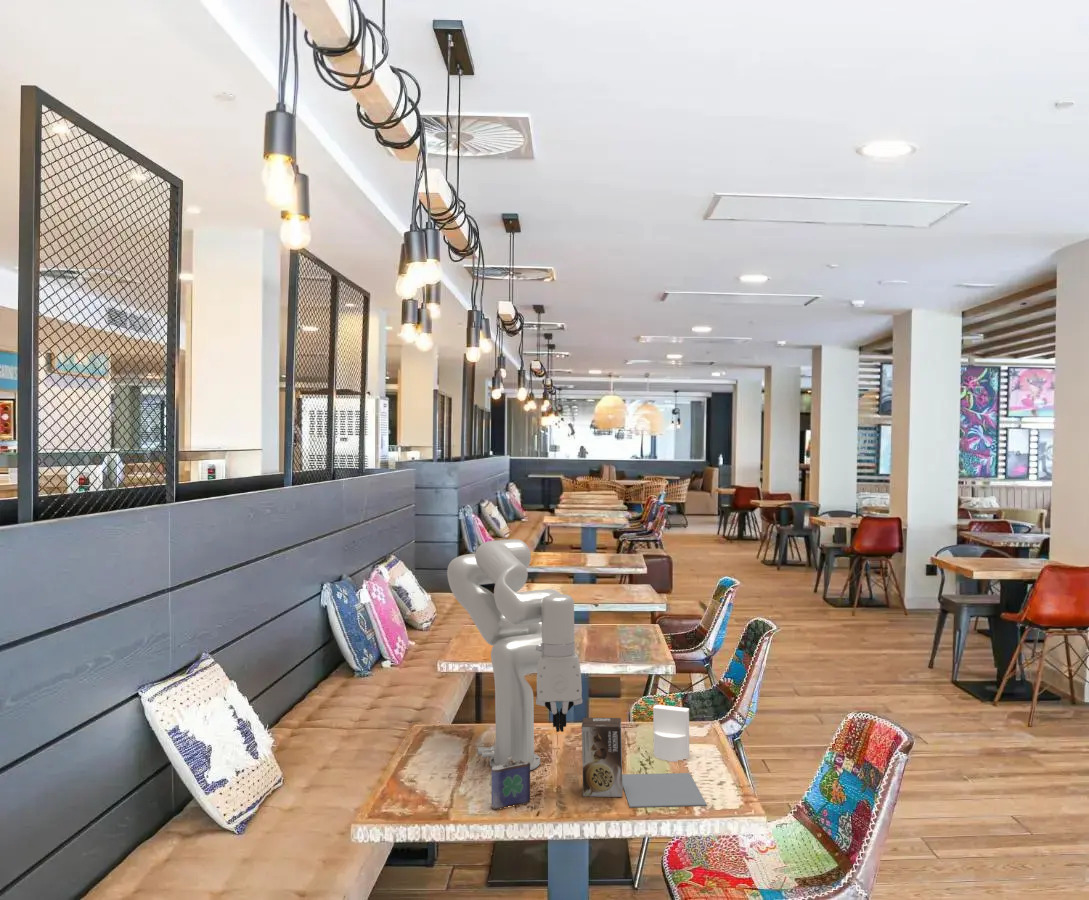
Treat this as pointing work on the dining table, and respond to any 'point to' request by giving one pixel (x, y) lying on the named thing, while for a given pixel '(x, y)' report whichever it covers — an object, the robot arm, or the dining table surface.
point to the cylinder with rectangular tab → (671, 732)
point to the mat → (661, 790)
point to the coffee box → (602, 757)
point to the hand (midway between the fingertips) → (559, 729)
